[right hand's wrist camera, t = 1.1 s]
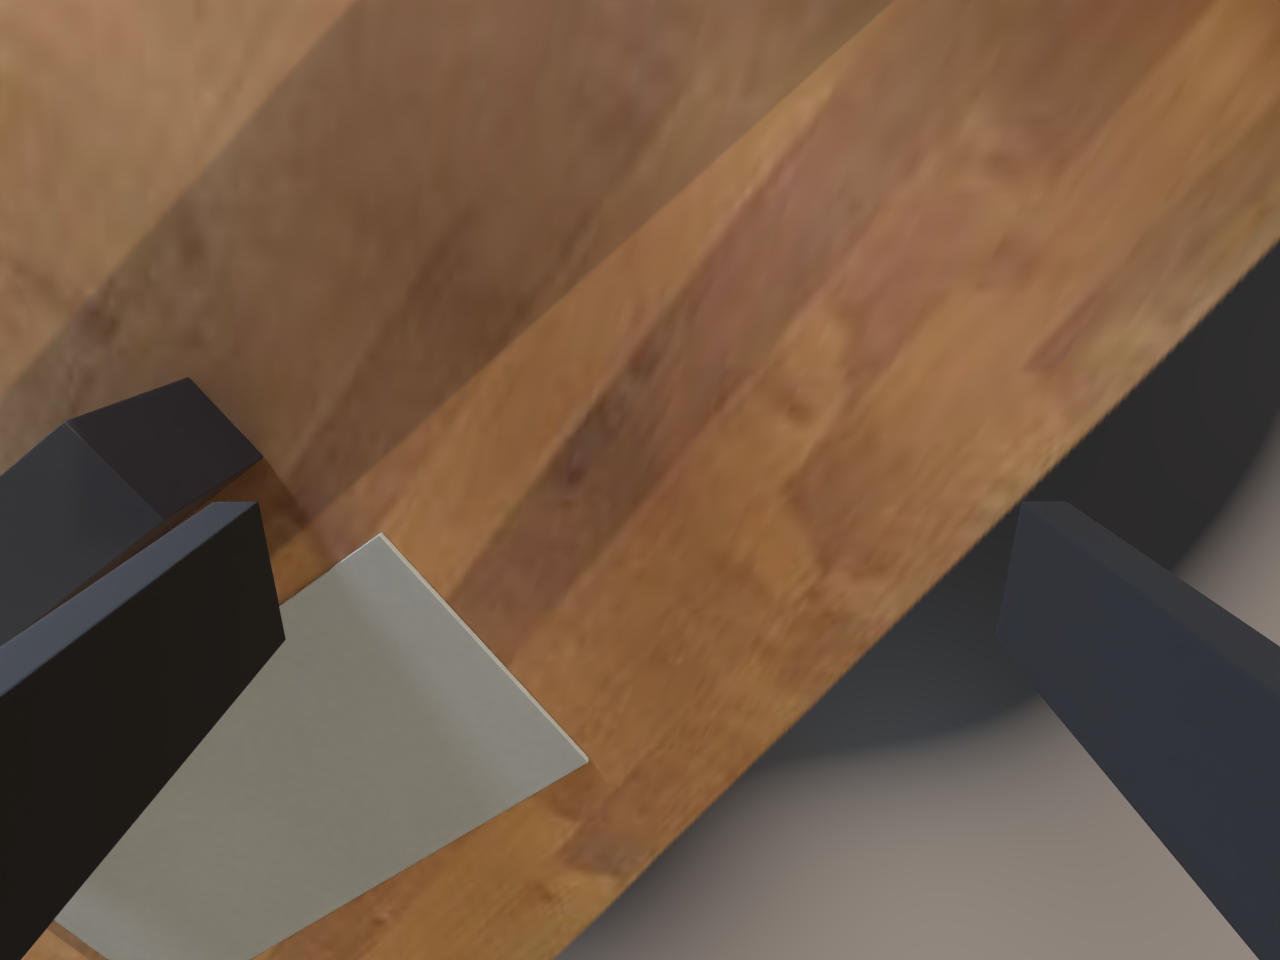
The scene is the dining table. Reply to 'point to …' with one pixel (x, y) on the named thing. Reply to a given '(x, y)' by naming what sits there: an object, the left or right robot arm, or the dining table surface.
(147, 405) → the charcoal beam
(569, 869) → the dining table surface
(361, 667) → the grey rubber mat
